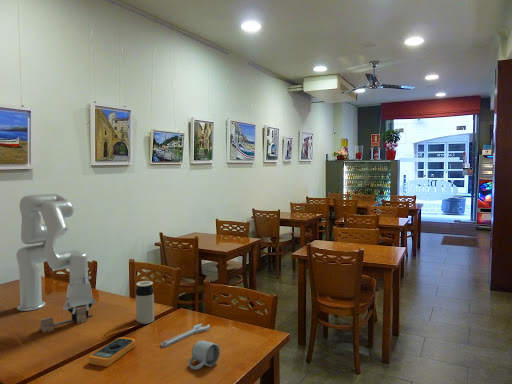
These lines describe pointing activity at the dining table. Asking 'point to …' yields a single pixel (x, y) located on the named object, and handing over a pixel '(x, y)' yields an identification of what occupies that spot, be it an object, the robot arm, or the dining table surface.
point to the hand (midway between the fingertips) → (80, 319)
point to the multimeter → (112, 351)
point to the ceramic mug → (204, 354)
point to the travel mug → (144, 302)
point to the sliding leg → (81, 314)
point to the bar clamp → (52, 324)
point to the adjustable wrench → (186, 334)
